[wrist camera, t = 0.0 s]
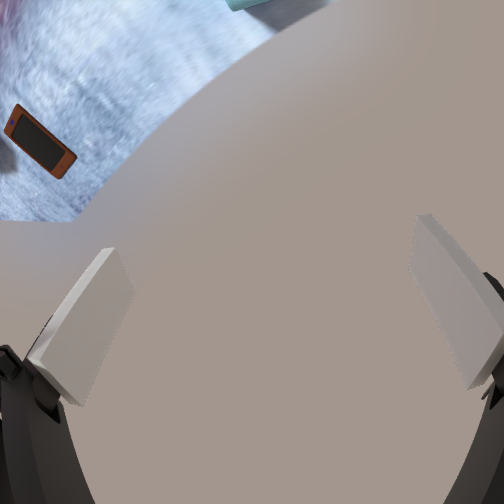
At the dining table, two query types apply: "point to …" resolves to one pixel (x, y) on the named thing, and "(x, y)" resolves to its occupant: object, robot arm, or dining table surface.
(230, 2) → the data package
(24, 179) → the dining table surface
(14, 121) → the smartphone
